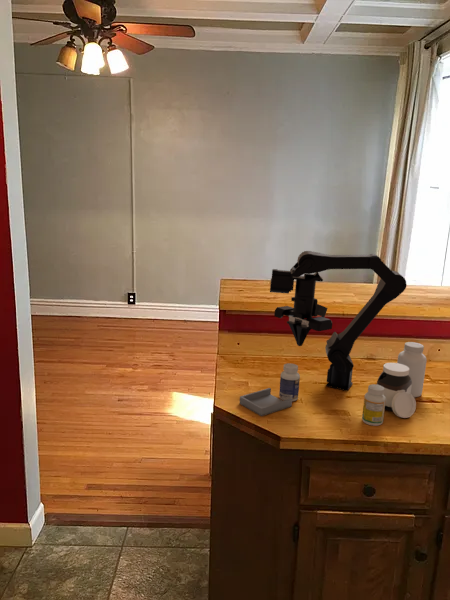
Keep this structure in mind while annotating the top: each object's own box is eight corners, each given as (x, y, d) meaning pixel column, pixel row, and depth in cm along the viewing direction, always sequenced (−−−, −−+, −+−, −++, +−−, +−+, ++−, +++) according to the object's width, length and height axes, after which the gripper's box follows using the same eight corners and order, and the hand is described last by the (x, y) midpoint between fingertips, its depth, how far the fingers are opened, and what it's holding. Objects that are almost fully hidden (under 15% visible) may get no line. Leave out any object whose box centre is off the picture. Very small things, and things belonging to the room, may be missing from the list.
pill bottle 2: (423, 390, 162) (429, 343, 158) (420, 400, 155) (427, 350, 151) (395, 385, 165) (401, 338, 162) (391, 394, 158) (398, 346, 154)
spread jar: (388, 397, 156) (392, 359, 153) (425, 410, 149) (430, 370, 146) (366, 408, 148) (370, 368, 145) (404, 423, 140) (409, 381, 137)
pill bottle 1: (297, 403, 150) (299, 370, 147) (278, 400, 151) (280, 368, 148) (298, 395, 155) (301, 363, 152) (280, 393, 156) (282, 361, 153)
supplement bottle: (377, 428, 137) (381, 393, 135) (358, 421, 140) (361, 387, 138) (386, 421, 141) (390, 387, 139) (367, 414, 144) (371, 381, 142)
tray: (269, 394, 154) (269, 387, 154) (291, 406, 147) (292, 399, 147) (239, 403, 147) (239, 396, 147) (261, 416, 141) (261, 408, 140)
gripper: (347, 299, 155) (341, 350, 158) (301, 286, 169) (296, 334, 173) (321, 302, 148) (315, 356, 152) (275, 289, 163) (271, 338, 166)
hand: (299, 345), depth 161 cm, fingers closed
